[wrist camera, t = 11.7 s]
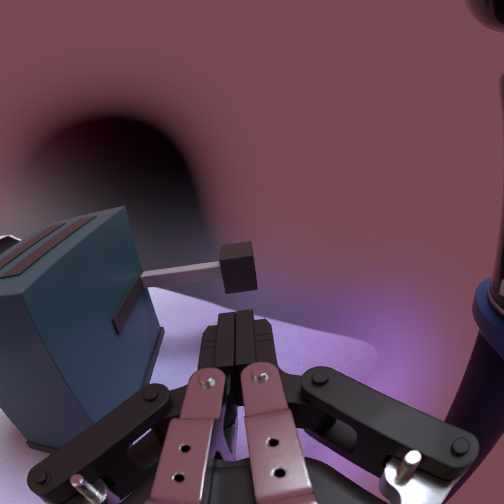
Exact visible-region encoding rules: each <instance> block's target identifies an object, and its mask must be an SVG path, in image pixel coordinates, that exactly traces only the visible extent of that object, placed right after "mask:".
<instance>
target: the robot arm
mask: <svg viewBox="0 0 504 504" xmlns="http://www.w3.org/2000/svg"><path fill="white" fill-rule="evenodd" d="M464 1H465V4H466V6H467V8H468V10H469V11H470V13H471V14H472V16H473V17H474V18H475V19H476V20H477V21H478V22H479V23H480V24H481V25H483V26H485V27H487V28H490V29H493V30H495V31H499V32H504V0H464ZM499 93H500V101H501V106H502V108H501V109H502V123H503V142H504V74H503V75H502V76H501V77H500V80H499ZM487 300H488V303H489V305H490V307H491V308H492V309H493V311H494V312H495V313H496V314H497V315H498V316H499V317H501V318H502V319H503V320H504V173H503V195H502V208H501V219H500V227H499V236H498V242H497V249H496V255H495V261H494V267H493V273H492V277H491V282H490V284H489V287H488V292H487ZM237 406H244V408H245V417H244V418H245V427H246V434H247V442H248V449H249V456H250V457H249V458H246V459H242V460H239V461H235V452H236V441H237V430H238V418H237ZM150 428H151V431H150V432H149V433H148V434H146V435H145V436H144V437H143V438H141V439H140V440H139V441H138V442H137V443H135V444H134V445H133V446H132V447H130V448H129V446H130V445H131V444H132V443H133V442H134V441H135V440H137V439H138V438H139V437H140V436H142V435H143V434H144V433H145V432H146V431H148V430H149V429H150ZM296 428H302V429H304V431H305V432H306V433H307V434H308V435H309V436H311V437H313V438H314V439H316V440H317V441H319V442H320V443H322V444H323V445H325V446H327V447H328V448H330V449H331V450H333V451H334V452H336V453H338V454H339V455H341V456H342V457H344V458H346V459H347V460H349V461H351V462H352V463H354V464H356V465H357V466H359V467H361V468H363V469H364V470H366V471H368V472H370V473H371V474H373V475H375V476H377V477H379V478H380V481H379V489H380V492H381V493H382V495H383V496H384V497H386V498H387V499H388V500H389V501H390V502H391V504H442V502H443V501H444V499H445V498H446V496H447V494H448V493H449V491H450V490H451V489H452V487H453V486H454V485H455V484H456V483H457V482H458V481H459V479H460V478H461V477H462V476H463V475H464V473H465V472H466V471H467V470H468V468H469V467H470V466H471V465H472V463H473V462H474V461H475V459H476V458H477V456H478V454H479V451H480V445H479V441H478V439H477V438H476V437H475V436H474V435H473V434H472V433H470V432H468V431H466V430H463V429H461V428H459V427H456V426H454V425H451V424H449V423H447V422H444V421H442V420H439V419H437V418H435V417H433V416H430V415H428V414H426V413H423V412H421V411H419V410H417V409H415V408H412V407H410V406H408V405H406V404H404V403H402V402H399V401H397V400H395V399H393V398H391V397H389V396H387V395H385V394H382V393H380V392H378V391H376V390H374V389H372V388H370V387H368V386H366V385H364V384H362V383H360V382H358V381H356V380H354V379H352V378H350V377H348V376H346V375H344V374H342V373H340V372H338V371H336V370H334V369H332V368H329V367H324V366H319V367H314V368H311V369H309V370H307V371H306V372H305V373H304V374H303V375H302V376H299V375H291V374H288V373H285V372H283V371H282V370H281V369H280V368H279V367H278V364H277V359H276V353H275V346H274V340H273V333H272V327H271V324H270V323H269V322H268V321H267V320H266V319H260V320H254V316H253V311H252V309H251V310H244V311H236V313H235V312H229V313H221V314H219V315H218V324H217V325H213V326H208V327H207V329H206V330H205V331H204V333H203V336H202V343H201V349H200V356H199V363H198V370H197V371H196V372H195V373H194V374H193V375H192V376H191V377H190V379H189V382H188V384H187V385H185V386H183V387H180V388H177V389H174V390H170V391H169V390H168V388H167V387H166V386H164V385H162V384H156V383H154V384H149V385H146V386H144V387H142V388H141V389H140V390H138V391H137V392H136V393H134V394H133V395H132V396H130V397H129V398H128V399H126V400H125V401H124V402H122V403H121V404H120V405H119V406H117V407H116V408H115V409H113V410H112V411H110V412H109V413H108V414H106V415H105V416H104V417H102V418H101V419H100V420H98V421H97V422H96V423H94V424H93V425H92V426H90V427H89V428H87V429H86V430H85V431H83V432H82V433H81V434H79V435H78V436H76V437H75V438H74V439H72V440H71V441H69V442H68V443H67V444H65V445H64V446H62V447H61V448H60V449H58V450H57V451H55V452H54V453H53V454H51V455H50V456H48V457H47V458H45V459H44V460H43V461H41V462H40V463H38V464H37V465H35V466H34V467H33V468H32V469H31V470H30V471H29V473H28V476H27V484H28V486H29V488H30V489H31V491H33V492H34V493H35V494H36V495H38V496H39V497H40V498H41V499H43V501H44V502H45V503H47V504H388V503H386V502H385V501H383V500H381V499H380V498H378V497H376V496H375V495H373V494H371V493H370V492H368V491H367V490H365V489H363V488H362V487H360V486H359V485H357V484H356V483H354V482H353V481H351V480H350V479H348V478H347V477H345V476H344V475H342V474H341V473H339V472H338V471H336V470H335V469H334V468H332V467H331V466H329V465H327V464H325V463H323V462H321V461H318V460H316V459H312V458H308V457H304V455H303V451H302V448H301V444H300V441H299V437H298V434H297V430H296ZM128 448H129V449H128ZM132 491H133V492H132ZM131 492H132V493H131ZM130 493H131V494H130ZM127 495H128V496H127ZM126 496H127V497H126ZM125 497H126V498H125ZM124 498H125V499H124ZM122 499H124V500H122ZM121 500H122V501H121ZM120 501H121V502H120Z"/></svg>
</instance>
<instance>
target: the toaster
mask: <svg viewBox="0 0 504 504" xmlns="http://www.w3.org/2000/svg"><path fill="white" fill-rule="evenodd" d="M142 273H143V270H142V268H141V265H140V261H139V257H138V254H137V250H136V247H135V243H134V239H133V235H132V232H131V228H130V224H129V220H128V215H127V211H126V208H125V206H122V207H118V208H113V209H109V210H104V211H99V212H95V213H91V214H86V215H82V216H78V217H73V218H69V219H65V220H61V221H57V222H53V223H49V224H47V225H45V226H44V227H42V228H40V229H39V230H37V231H36V232H34V233H32V234H31V235H29V236H28V237H27V238H25V239H23V240H22V241H20V242H19V243H17V244H16V245H14V246H13V247H11V248H10V249H8V250H7V251H5V252H4V253H2V254H1V255H0V407H1V409H2V410H3V411H4V413H5V414H6V415H7V417H8V418H9V419H10V420H11V422H12V423H13V424H14V425H15V426H16V428H17V429H18V430H19V431H20V432H21V434H22V435H23V436H24V437H25V438H26V439H27V442H26V444H27V445H28V446H29V447H30V448H33V449H37V450H40V451H45V452H49V453H54V452H55V451H57V450H58V449H60V448H61V447H62V446H64V445H65V444H67V443H68V442H69V441H71V440H72V439H74V438H75V437H76V436H78V435H79V434H81V433H82V432H83V431H85V430H86V429H87V428H89V427H90V426H92V425H93V424H94V423H96V422H97V421H98V420H100V419H101V418H102V417H104V416H105V415H106V414H108V413H109V412H110V411H112V410H113V409H115V408H116V407H117V406H119V405H120V404H121V403H122V402H124V401H125V400H126V399H128V398H129V397H130V396H132V395H133V394H134V393H136V392H137V391H138V390H140V389H141V388H142V387H144V386H146V385H149V382H150V378H151V375H152V372H153V368H154V365H155V362H156V358H157V355H158V352H159V349H160V345H161V342H162V339H163V336H164V333H165V331H164V328H163V327H160V325H159V322H158V319H157V316H156V313H155V310H154V307H153V304H152V301H151V298H150V294H149V291H148V288H143V285H142V282H141V278H140V276H141V275H142ZM130 447H132V444H131V445H130V446H129V448H130ZM129 448H128V449H129Z"/></svg>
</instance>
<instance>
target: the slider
mask: <svg viewBox="0 0 504 504" xmlns="http://www.w3.org/2000/svg"><path fill="white" fill-rule="evenodd" d="M140 278H141V282H142V285H143V288H147V287H155V286H163V285H170V284H178V283H186V282H194V281H201V280H209V279H216V278H223V283H224V288H225V293H226V294H230V293H237V292H245V291H252V290H257V289H258V287H257V279H256V271H255V264H254V257H253V251H252V244H251V241H249V242H241V243H235V244H228V245H222V246H221V251H220V258H219V261H218V262H210V263H203V264H196V265H189V266H182V267H175V268H167V269H160V270H153V271H146V272H143V273H142V275H141V276H140Z"/></svg>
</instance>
